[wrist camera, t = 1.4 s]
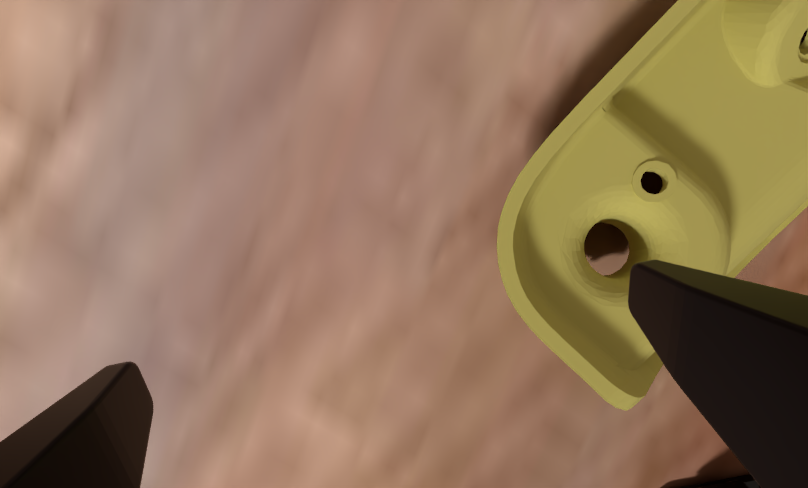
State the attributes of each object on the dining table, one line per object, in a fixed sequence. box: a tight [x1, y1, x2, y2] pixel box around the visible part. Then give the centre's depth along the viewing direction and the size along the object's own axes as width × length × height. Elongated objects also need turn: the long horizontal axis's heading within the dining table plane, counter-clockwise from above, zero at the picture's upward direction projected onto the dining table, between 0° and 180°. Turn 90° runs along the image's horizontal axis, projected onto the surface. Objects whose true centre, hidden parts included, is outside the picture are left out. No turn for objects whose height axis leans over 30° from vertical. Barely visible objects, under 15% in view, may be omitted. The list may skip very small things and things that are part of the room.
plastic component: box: [497, 0, 808, 411], centre depth 20 cm, size 20×7×10 cm
